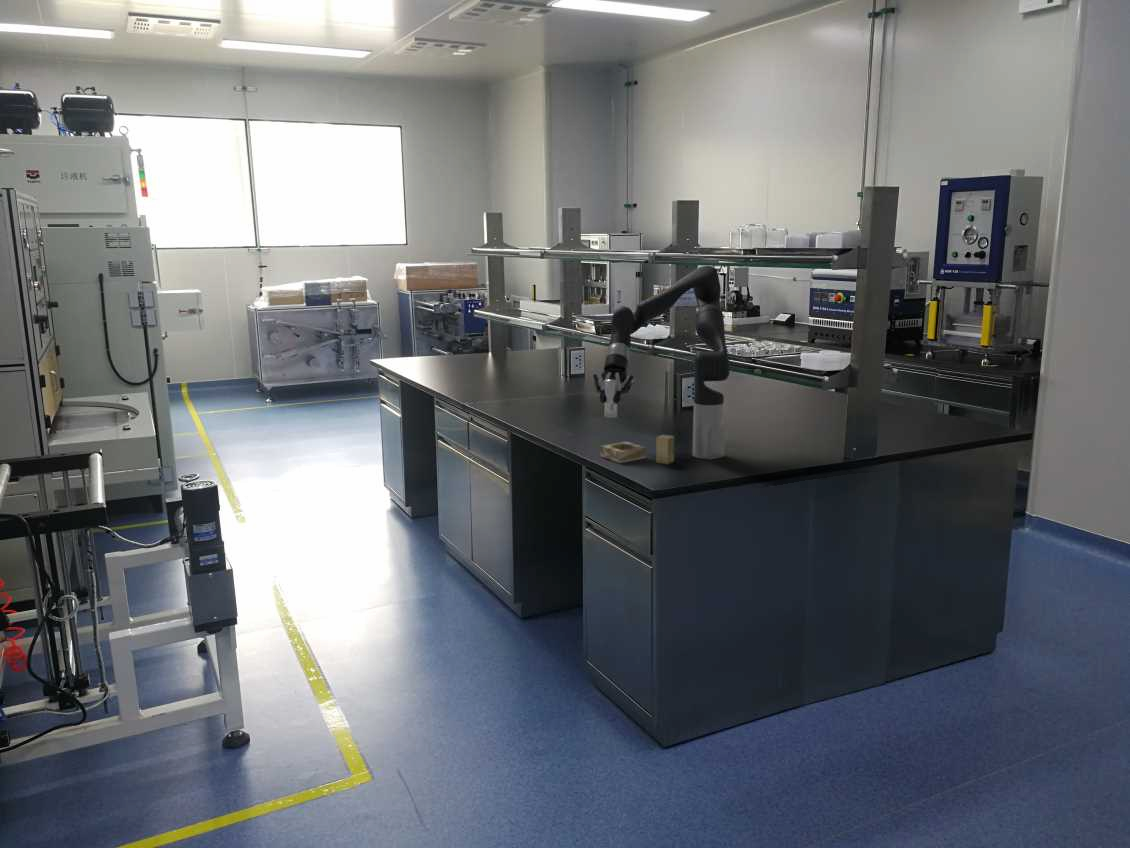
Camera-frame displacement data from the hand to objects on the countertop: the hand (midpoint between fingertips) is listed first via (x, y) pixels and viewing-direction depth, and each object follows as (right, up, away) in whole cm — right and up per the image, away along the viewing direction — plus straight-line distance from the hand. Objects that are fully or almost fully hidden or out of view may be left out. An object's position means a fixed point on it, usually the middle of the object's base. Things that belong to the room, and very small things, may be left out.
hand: (609, 402), depth 273 cm
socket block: (+4, -18, -4) cm, 18 cm away
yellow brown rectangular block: (+17, -19, -10) cm, 27 cm away
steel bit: (+1, -5, +3) cm, 5 cm away
